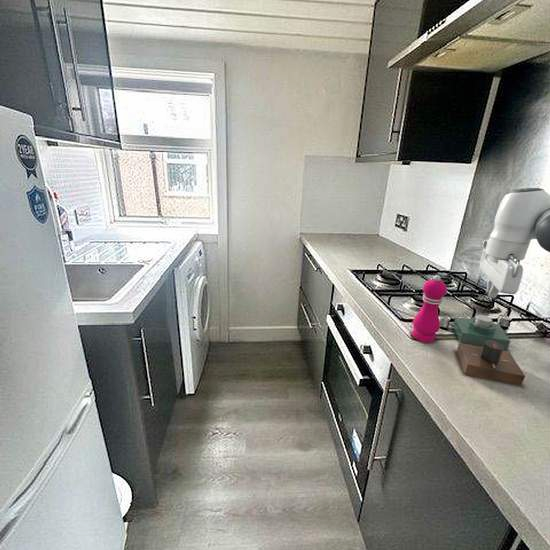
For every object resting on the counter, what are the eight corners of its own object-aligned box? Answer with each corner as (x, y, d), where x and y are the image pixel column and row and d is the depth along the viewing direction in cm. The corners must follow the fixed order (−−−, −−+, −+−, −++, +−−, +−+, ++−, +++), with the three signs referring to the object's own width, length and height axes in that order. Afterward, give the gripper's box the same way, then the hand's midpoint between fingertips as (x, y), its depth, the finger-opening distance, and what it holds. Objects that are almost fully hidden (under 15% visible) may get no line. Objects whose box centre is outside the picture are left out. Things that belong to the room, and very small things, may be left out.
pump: (488, 322, 91) (489, 316, 91) (492, 328, 88) (494, 322, 87) (473, 319, 92) (474, 313, 92) (476, 326, 89) (478, 320, 88)
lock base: (506, 361, 81) (510, 351, 80) (521, 386, 72) (525, 375, 71) (456, 351, 84) (459, 342, 83) (464, 374, 76) (467, 363, 74)
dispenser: (495, 332, 94) (500, 318, 93) (507, 350, 86) (512, 335, 84) (452, 325, 98) (456, 311, 96) (459, 342, 89) (463, 327, 87)
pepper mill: (410, 340, 89) (424, 277, 82) (410, 328, 96) (423, 269, 88) (437, 346, 87) (454, 282, 79) (435, 333, 93) (450, 273, 86)
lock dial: (478, 351, 79) (483, 337, 78) (496, 355, 78) (501, 341, 77) (482, 360, 76) (487, 346, 74) (501, 364, 75) (506, 350, 73)
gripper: (536, 262, 72) (517, 314, 77) (506, 241, 90) (492, 284, 95) (505, 259, 73) (489, 309, 79) (482, 239, 92) (469, 281, 97)
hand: (490, 295), depth 87 cm, fingers closed
